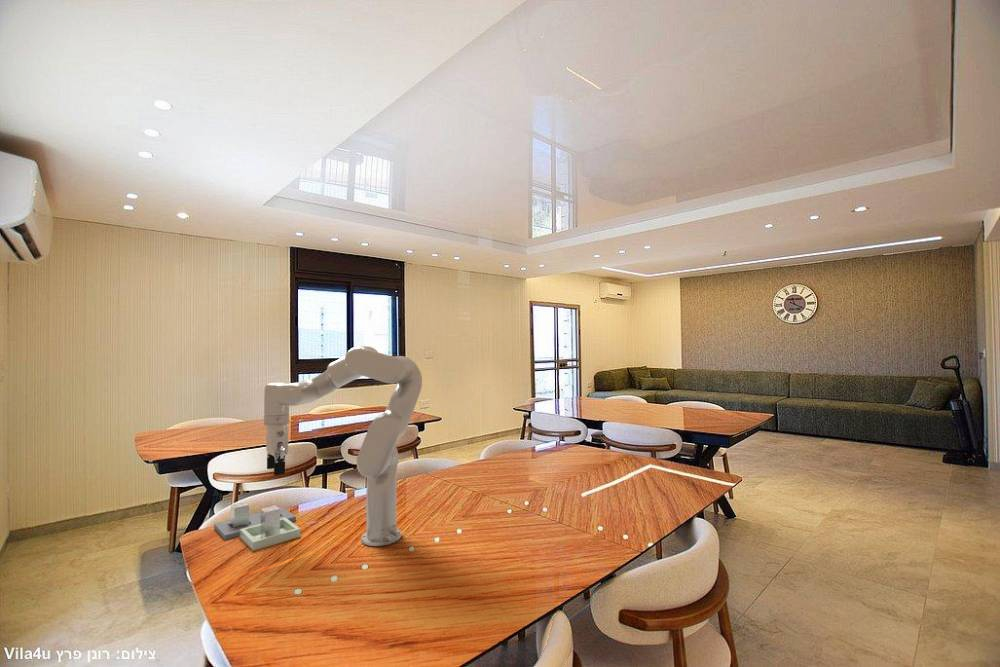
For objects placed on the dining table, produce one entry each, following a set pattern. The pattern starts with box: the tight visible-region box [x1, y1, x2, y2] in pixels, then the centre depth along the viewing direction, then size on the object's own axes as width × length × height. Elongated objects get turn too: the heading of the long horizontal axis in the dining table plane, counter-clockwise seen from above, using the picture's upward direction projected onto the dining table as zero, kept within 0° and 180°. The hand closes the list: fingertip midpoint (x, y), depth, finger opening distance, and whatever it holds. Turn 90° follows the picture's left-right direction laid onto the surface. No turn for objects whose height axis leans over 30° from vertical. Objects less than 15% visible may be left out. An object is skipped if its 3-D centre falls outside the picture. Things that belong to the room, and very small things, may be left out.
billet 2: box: [260, 505, 280, 538], centre depth 142 cm, size 4×4×9 cm
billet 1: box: [230, 501, 250, 529], centre depth 149 cm, size 4×4×9 cm
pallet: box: [213, 506, 297, 541], centre depth 153 cm, size 14×22×2 cm, turn 135°
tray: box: [239, 518, 302, 552], centre depth 142 cm, size 14×14×4 cm
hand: (275, 471), depth 146 cm, fingers open, 9 cm apart
